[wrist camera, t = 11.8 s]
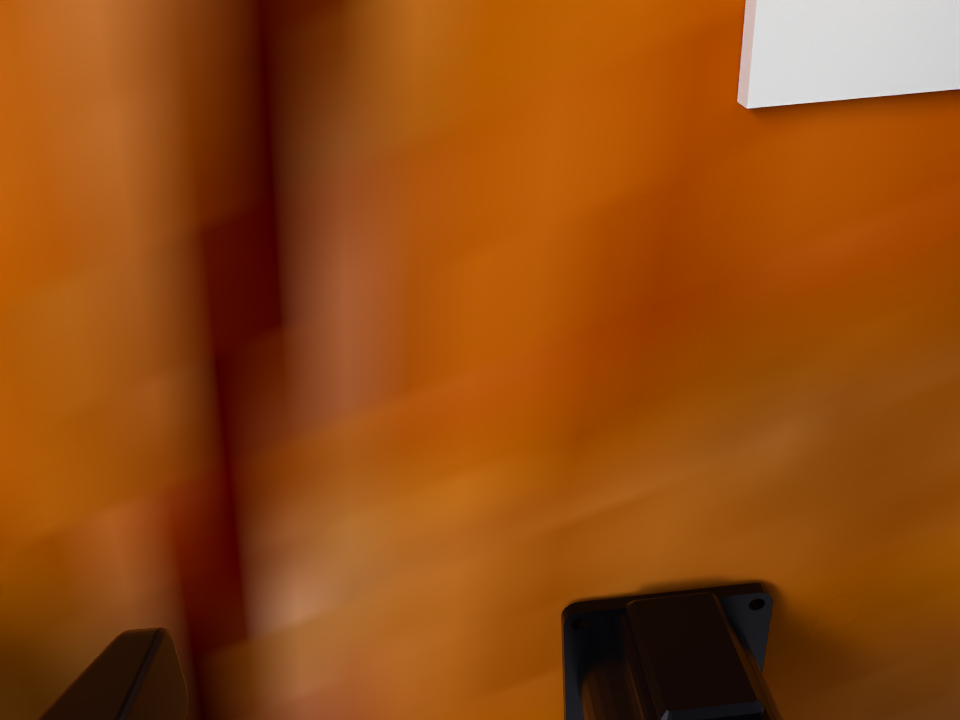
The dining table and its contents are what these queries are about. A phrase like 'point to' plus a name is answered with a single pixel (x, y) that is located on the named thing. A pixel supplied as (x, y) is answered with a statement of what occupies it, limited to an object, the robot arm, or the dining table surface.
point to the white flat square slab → (847, 49)
